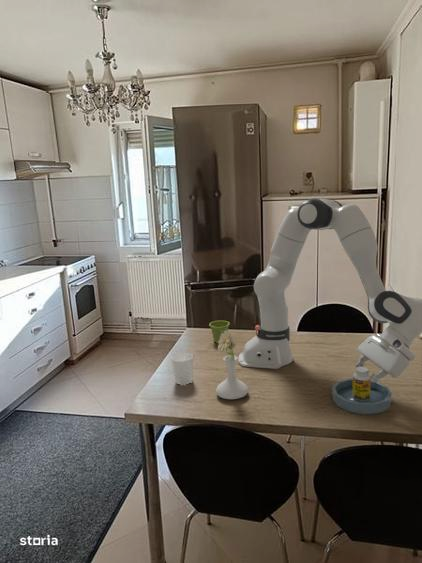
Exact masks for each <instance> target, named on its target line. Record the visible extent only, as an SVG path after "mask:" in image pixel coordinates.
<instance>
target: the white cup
mask: <svg viewBox="0 0 422 563" xmlns="http://www.w3.org/2000/svg"><path fill="white" fill-rule="evenodd" d="M171 361H172V362H171V363H172V369H173V376H174V380H175V381H174V382H175V384H176V383H177V384H180V385H179V386H183V385H184V386H187V385H186V384H189V383H191V384H192V383H193V382H194V355H193V354H191V353H187V352H181V353H177V354H175V355H173V356H172V358H171ZM192 381H193V382H192ZM177 384H176V385H177ZM189 385H190V384H189Z"/></svg>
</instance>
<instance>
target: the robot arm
mask: <svg viewBox="0 0 422 563" xmlns="http://www.w3.org/2000/svg"><path fill="white" fill-rule="evenodd" d="M312 230H318V231H324V230H334V231H335V233H336V235H337V236H338V238H339V239H338V240H339V241H340V244H341V246H342V247H343V250H344V252H345V253H346V255H347V257H348V258H349V260H350V261H351V263H352V265H353V266H354V269H355V270H356V271H357V272H356V273H358V276H359V278H360V281H361V284H362V286H363V288H364V290H365V294H366V296H367V312H368V314H369V317H370V318H371V319H372V320H374V322H377V323H380V324H387V323H388V324H389V325H388V326H387V327H386V328H385V329H384V331H382V333H381V334H380V333H373V334H372V335H370V336H368V337H367V338H366V339H364V340H363V341H362V342H361V344H359V346H358V347H357V352H358V353H359V354H361V355H360V356H359V358H358V362H357V363H356V364H355V367H356V368H357V367H365V365H364V364H365V362H367V361H368V360H369V361H370V362H371V363H373V364H374V365H375V366H377V367H378V368H380V369H379V371H378V372H377V373H374V372H373V374H371V375H370V376H371V377H370V378H371V380H372V381H374V382H379V380H380V379H383V378H384V377H387V375H389V376H391V377H392V378H398V377H399V376H400V375H401V374H403V372H405V370H406V369H407V367H409V365H410V362H413V361H414V360H415V359H416V355H415V354H414V352H413V351H412V349H411V346H412V344H413V342H414V340H415V339H416V338H417V337H418V336H420V335H421V334H422V299H421V298H419V297H415V298H414V297H409V296H405V295H402V294H401V293H398V292H396V291H392V290H386V289H385V286H384V283H383V281H382V278H381V276H380V274H379V271H378V267H377V253H378V251H379V250H378V248H379V247H378V242H377V238H376V237H377V236H376V235H375V232H374V230H373V228H372V225H371V224H370V222H369V220H368V218H367V217H366V215H365V213H364V212H363V211H362V210H361V208H360V207H359V206H358V205H356V204H353V203H352V204H351V203H350V204H345V205H342V203H340V202H339V201H336V200H333V199H328V198H309V199H307V200H305V201H304V202H302V203H301V204H300V205H299V206H298V207H294V208H293V207H292V208H290V209H289V210H288V211H287V213H286V214H285V216H284V218H283V220H282V222H281V223H280V225H279V228H278V230H277V233H276V234H275V238H274V240H273V243H272V246H271V248H270V255H269V260H268V263H267V266H266V268H265V269H264V270H263V271H262V272H260V273H259V274H258V275H257V277H256V278H255V280H254V282H253V290H254V293H255V295H256V297H257V301H258V305H259V311H260V325H259V324H256V325H255V328H254V330H255V331H256V332H255V334H256V335H254V337H252V338H251V339H250V340H248V341H247V342H246V343H245V345H244V347H243V351H242V352H240V353H239V355H238V359H237V360H238V364H239V365H240V366H241V367H245V368H260V369H261V368H262V369H275V370H278V369H281V367H283V366H287V365H289V364H291V363H292V362H293V361H294V358H293V356H292V350H291V345H290V339H291V329H290V326H289V308H288V306H287V302H286V298H285V291H286V289H287V288H288V287H289V286H290V284H291V281H292V279H293V276H294V273H295V269H296V266H297V263H298V260H299V258H300V255H301V253H302V250H303V248H304V246H305V244H306V243H305V242H306V241H307V238H308V235H309V234H310V232H311V231H312Z"/></svg>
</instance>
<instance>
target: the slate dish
mask: <svg viewBox="0 0 422 563" xmlns="http://www.w3.org/2000/svg"><path fill="white" fill-rule="evenodd" d="M352 392H353V377H352V378H344V379H341V380H337V381H336V383H335V384H334V385H333V386H331V395H332V400H333V403H334V404H335V405H336V406H337V407H338V408H340V409H341V410H344V411H346V412H350V413H354V414H357V415H378V414H382V413H384V412H385V411H386V412H387V411H388V410H389V409H390V408H391V402H392V400H393V399H392V396H393V395H392V392H391V390H390V388H389V387H388V386H387V385H385V384H382V383H381V382H379V381H377V382H374V381H373V380H372V379H371V387H370V399H369V400H367V401H359V400H356V399H354V398H353V396H352Z"/></svg>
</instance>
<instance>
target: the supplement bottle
mask: <svg viewBox="0 0 422 563" xmlns="http://www.w3.org/2000/svg"><path fill="white" fill-rule="evenodd" d="M371 376H372V375H371V374H370V373H369V369H368V367H365V366H364V367H356V368H355V372H354V373H353V375H352V378H353V392H352V396H353V398H354V399H356V400H359V401H367V400H369V399H370V387H371V380H372V379H371V378H370V377H371Z"/></svg>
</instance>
